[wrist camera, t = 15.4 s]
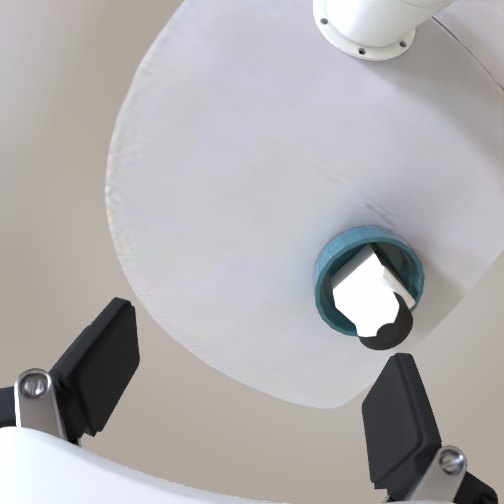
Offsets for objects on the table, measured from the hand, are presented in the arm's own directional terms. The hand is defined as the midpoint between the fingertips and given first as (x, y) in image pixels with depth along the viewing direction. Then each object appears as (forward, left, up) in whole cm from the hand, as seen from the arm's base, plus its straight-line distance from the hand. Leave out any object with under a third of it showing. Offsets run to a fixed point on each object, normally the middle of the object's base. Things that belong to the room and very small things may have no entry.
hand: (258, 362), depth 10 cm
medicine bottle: (+9, +13, -28) cm, 32 cm away
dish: (+9, +13, -28) cm, 32 cm away
